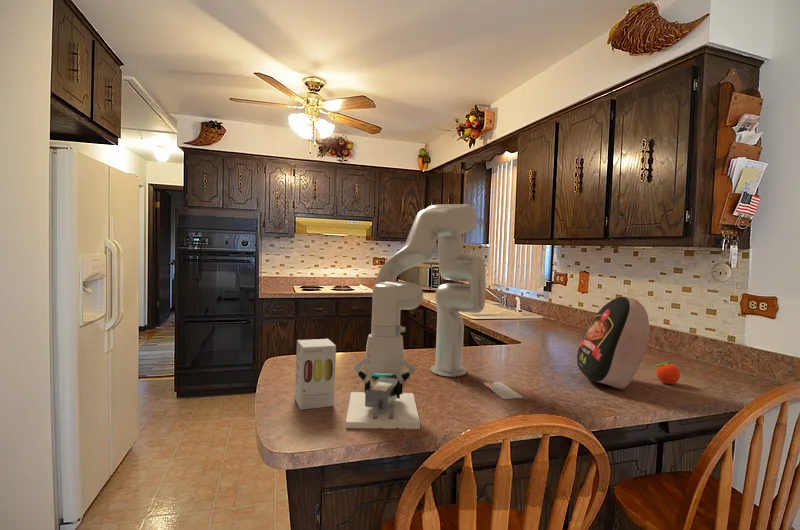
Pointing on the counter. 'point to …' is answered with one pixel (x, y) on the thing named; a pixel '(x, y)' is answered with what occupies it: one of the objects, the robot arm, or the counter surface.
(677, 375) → the clementine
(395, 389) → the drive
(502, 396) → the smartphone
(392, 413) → the white peg board
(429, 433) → the counter surface
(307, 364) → the supplement box
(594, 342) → the packaged food
